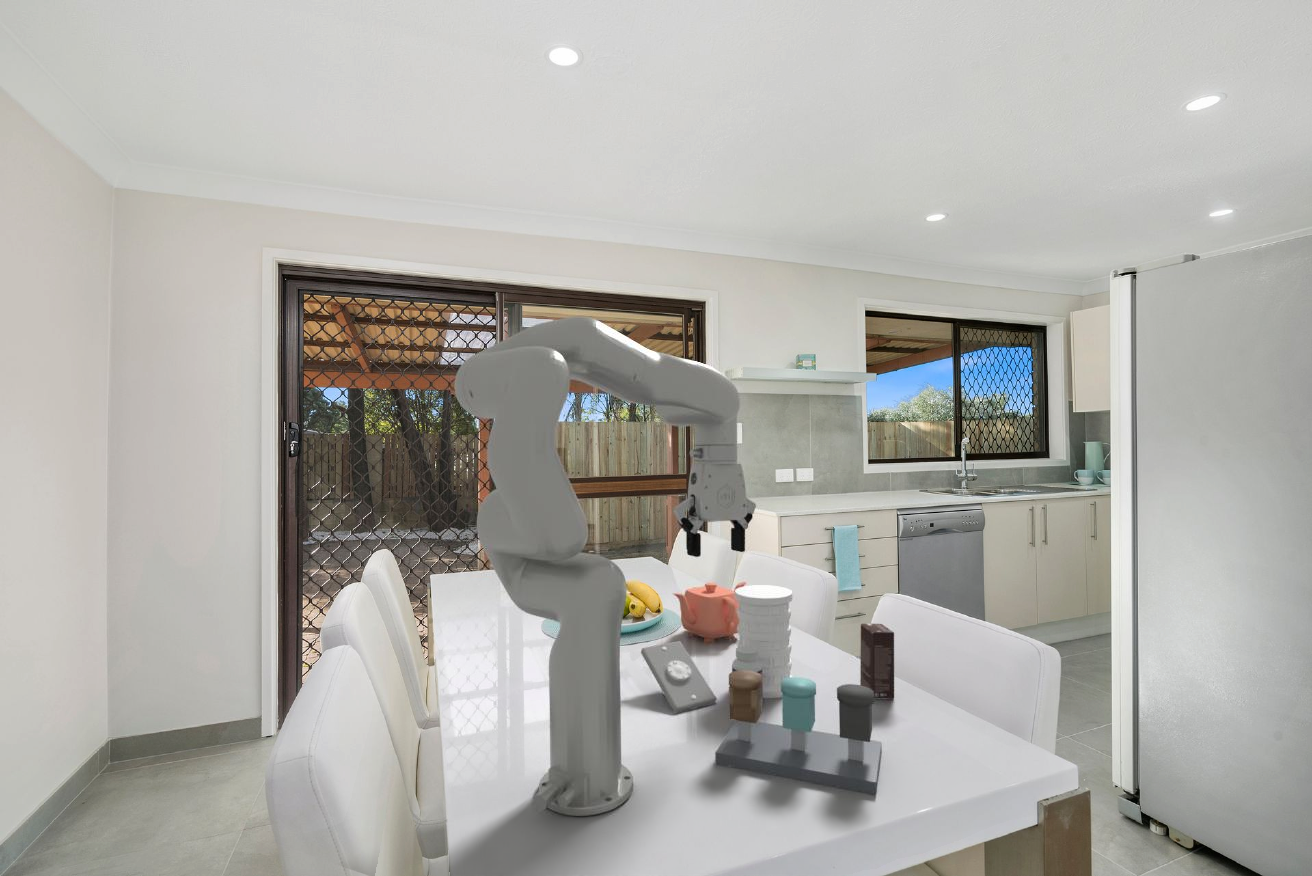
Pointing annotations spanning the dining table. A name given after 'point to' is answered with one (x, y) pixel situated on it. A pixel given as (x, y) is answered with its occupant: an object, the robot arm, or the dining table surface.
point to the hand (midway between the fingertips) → (716, 553)
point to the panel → (802, 755)
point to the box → (877, 660)
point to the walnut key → (745, 696)
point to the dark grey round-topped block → (855, 711)
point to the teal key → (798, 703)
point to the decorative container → (767, 631)
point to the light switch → (678, 676)
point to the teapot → (710, 611)
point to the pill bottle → (747, 661)
